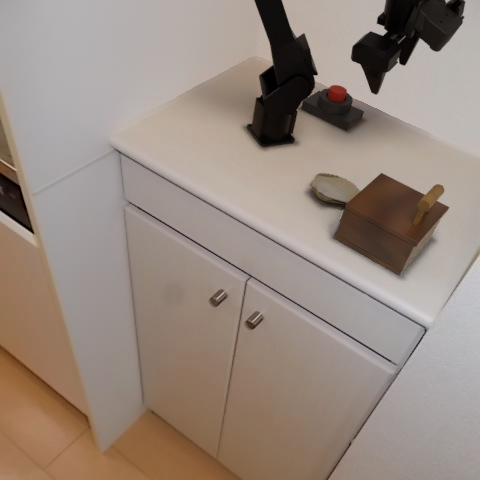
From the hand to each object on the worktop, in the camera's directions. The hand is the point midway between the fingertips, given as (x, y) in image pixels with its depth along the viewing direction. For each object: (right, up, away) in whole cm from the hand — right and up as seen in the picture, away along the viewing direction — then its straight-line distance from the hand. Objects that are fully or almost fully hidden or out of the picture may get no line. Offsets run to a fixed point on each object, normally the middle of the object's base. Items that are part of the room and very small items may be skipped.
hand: (388, 78), depth 87 cm
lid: (-3, -25, -15) cm, 29 cm away
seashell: (-10, -21, -6) cm, 24 cm away
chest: (-4, -28, -11) cm, 31 cm away
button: (-7, 0, +9) cm, 11 cm away
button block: (-8, -2, +11) cm, 14 cm away
